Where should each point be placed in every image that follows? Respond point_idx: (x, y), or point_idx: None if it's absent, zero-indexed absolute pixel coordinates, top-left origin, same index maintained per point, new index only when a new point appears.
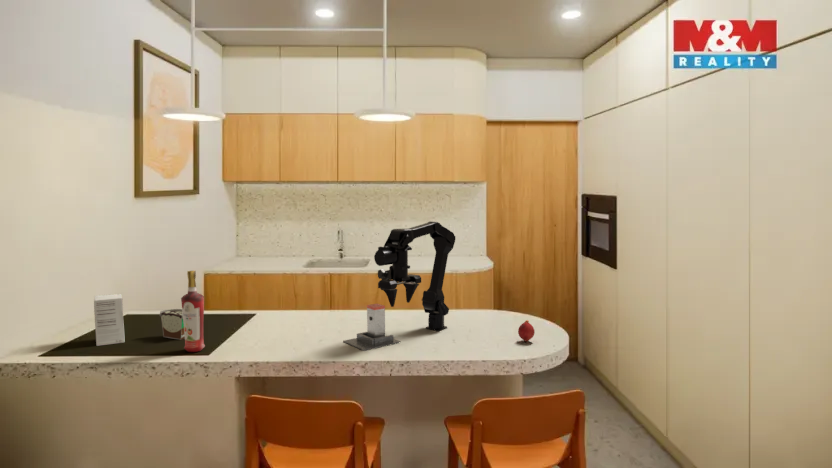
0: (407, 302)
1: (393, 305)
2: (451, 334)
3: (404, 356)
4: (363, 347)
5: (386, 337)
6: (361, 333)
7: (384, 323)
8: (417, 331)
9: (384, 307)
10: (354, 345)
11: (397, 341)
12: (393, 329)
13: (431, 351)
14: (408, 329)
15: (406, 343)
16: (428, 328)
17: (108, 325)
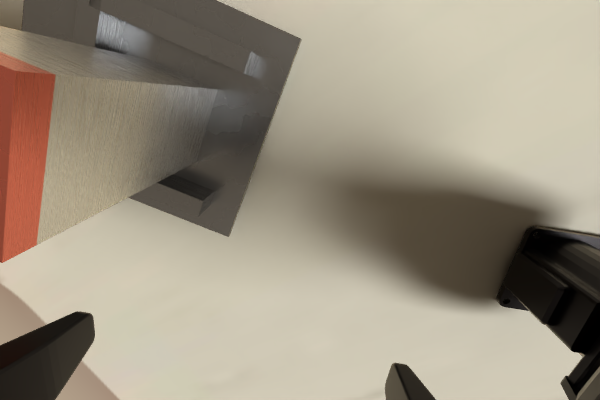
0: (392, 367)
1: (69, 358)
2: (461, 362)
3: None
4: None
5: (154, 198)
6: (108, 5)
7: (138, 187)
8: (459, 210)
9: (18, 249)
10: None
11: (220, 223)
12: (454, 53)
13: (200, 379)
14: (486, 143)
15: (234, 262)
16: (521, 248)
17: None
